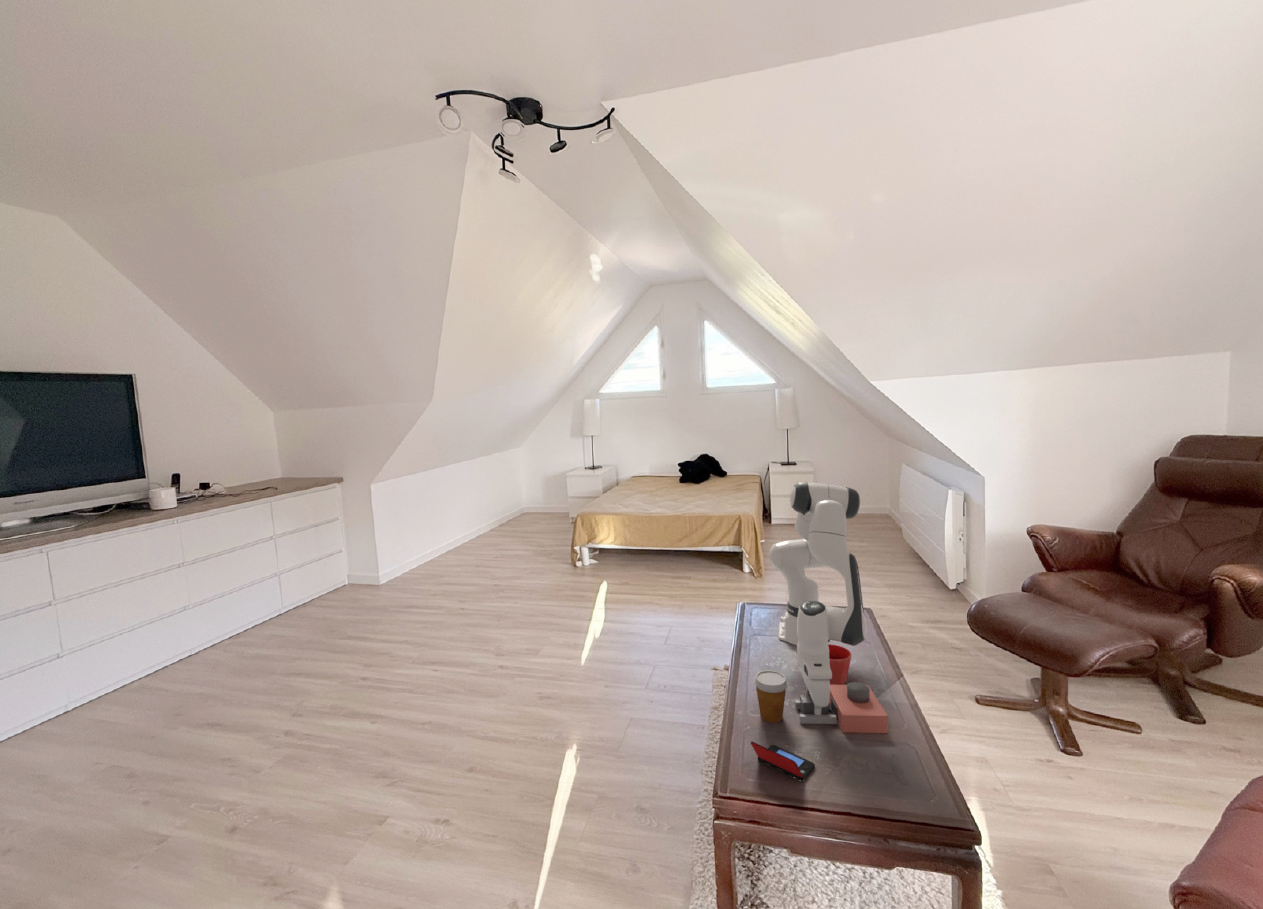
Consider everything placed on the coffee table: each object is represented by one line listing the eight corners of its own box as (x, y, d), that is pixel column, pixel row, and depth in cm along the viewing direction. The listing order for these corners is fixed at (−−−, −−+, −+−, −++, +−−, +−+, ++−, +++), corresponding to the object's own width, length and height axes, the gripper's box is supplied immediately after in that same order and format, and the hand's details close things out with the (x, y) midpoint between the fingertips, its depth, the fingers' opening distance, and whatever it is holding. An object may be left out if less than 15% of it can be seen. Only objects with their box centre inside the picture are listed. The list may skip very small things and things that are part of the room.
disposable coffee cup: (789, 709, 159) (788, 671, 158) (787, 728, 150) (786, 688, 149) (756, 705, 162) (755, 667, 161) (753, 723, 154) (752, 683, 152)
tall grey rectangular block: (800, 711, 159) (800, 695, 158) (824, 711, 158) (824, 695, 157) (803, 719, 155) (803, 702, 154) (828, 719, 154) (828, 703, 154)
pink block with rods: (792, 699, 165) (791, 674, 164) (868, 700, 162) (868, 675, 162) (803, 731, 149) (803, 704, 148) (887, 733, 146) (887, 705, 146)
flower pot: (854, 689, 169) (854, 660, 168) (818, 687, 171) (817, 658, 170) (847, 672, 179) (847, 644, 178) (813, 670, 181) (813, 643, 180)
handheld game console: (816, 767, 134) (816, 740, 134) (796, 791, 127) (795, 762, 126) (772, 747, 143) (771, 720, 142) (750, 767, 136) (749, 740, 135)
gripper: (794, 642, 165) (795, 684, 167) (809, 676, 145) (810, 724, 146) (815, 642, 165) (816, 684, 166) (833, 676, 144) (834, 724, 146)
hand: (813, 703), depth 156 cm, fingers open, 8 cm apart
